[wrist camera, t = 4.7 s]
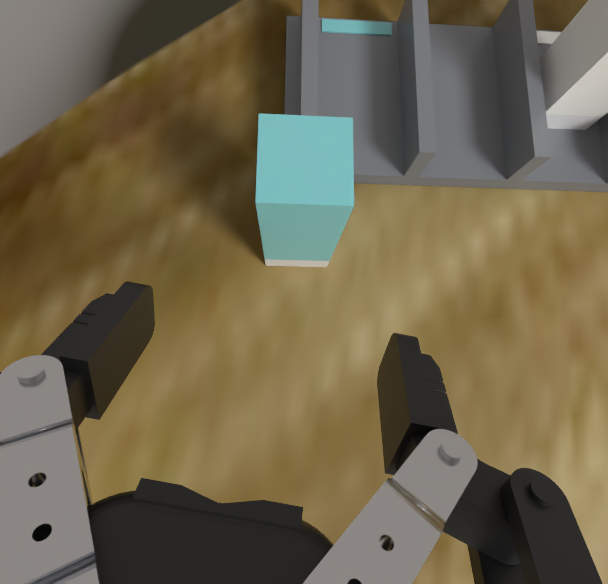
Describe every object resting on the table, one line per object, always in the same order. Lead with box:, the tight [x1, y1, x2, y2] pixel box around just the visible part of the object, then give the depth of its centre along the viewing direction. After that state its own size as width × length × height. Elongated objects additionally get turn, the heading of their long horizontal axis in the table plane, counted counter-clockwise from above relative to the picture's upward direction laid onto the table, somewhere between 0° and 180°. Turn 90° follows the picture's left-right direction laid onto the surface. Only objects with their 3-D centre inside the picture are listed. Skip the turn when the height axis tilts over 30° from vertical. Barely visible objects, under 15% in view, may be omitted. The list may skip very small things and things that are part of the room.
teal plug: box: [255, 114, 354, 267], centre depth 21 cm, size 4×4×10 cm
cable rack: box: [284, 0, 608, 192], centre depth 26 cm, size 24×12×4 cm, turn 89°
